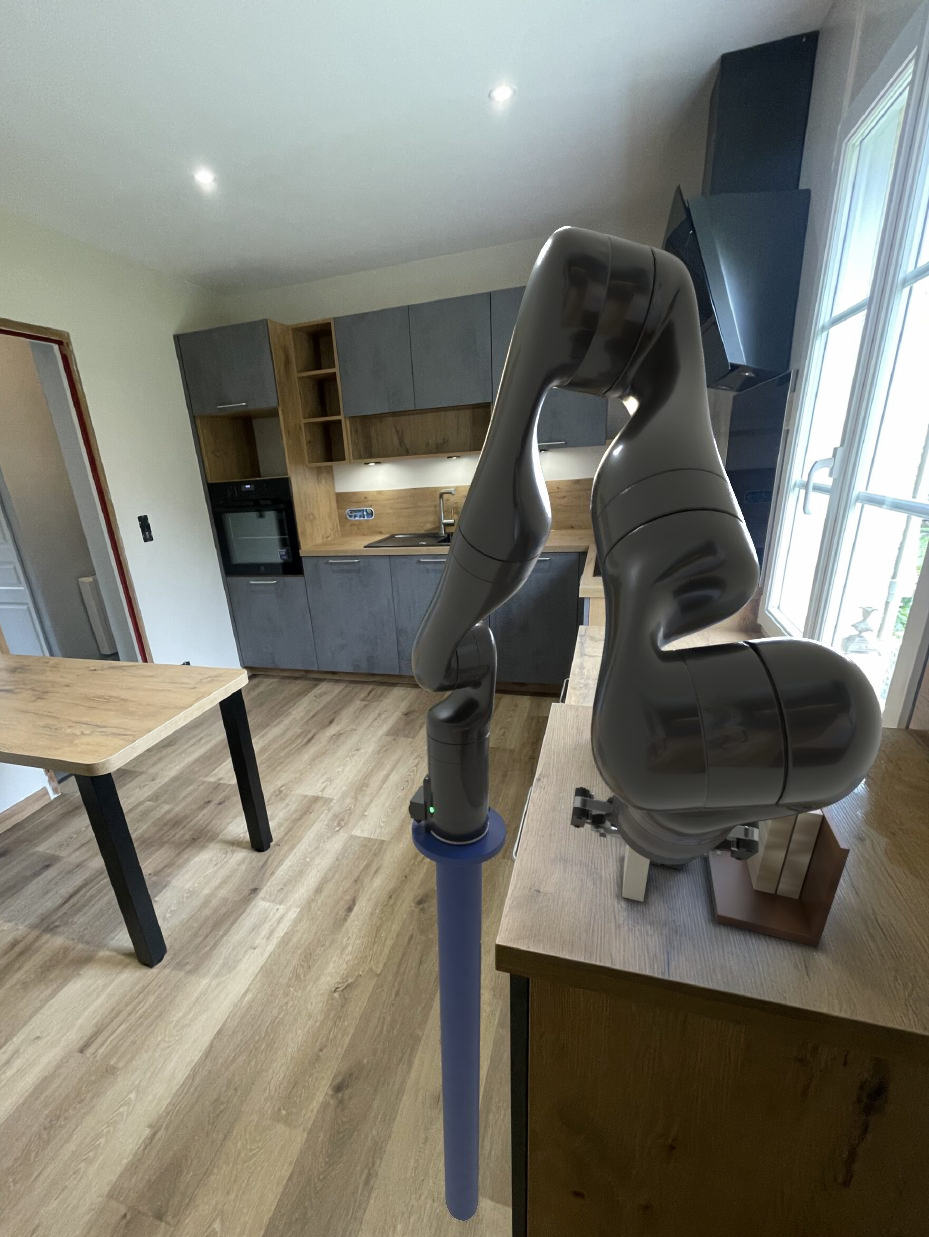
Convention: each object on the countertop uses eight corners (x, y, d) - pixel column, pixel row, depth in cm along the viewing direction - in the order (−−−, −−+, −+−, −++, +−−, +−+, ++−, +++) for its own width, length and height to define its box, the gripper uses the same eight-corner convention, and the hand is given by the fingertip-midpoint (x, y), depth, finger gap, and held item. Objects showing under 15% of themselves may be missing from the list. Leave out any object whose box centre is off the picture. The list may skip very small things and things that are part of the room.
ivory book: (622, 897, 65) (633, 816, 61) (624, 860, 71) (634, 784, 67) (643, 902, 64) (656, 820, 60) (643, 864, 71) (655, 787, 66)
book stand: (715, 922, 61) (736, 829, 56) (704, 850, 73) (721, 767, 68) (818, 947, 58) (850, 849, 53) (790, 867, 69) (814, 780, 64)
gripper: (789, 767, 36) (734, 811, 50) (573, 736, 41) (578, 784, 55) (790, 882, 33) (732, 895, 47) (559, 834, 38) (568, 858, 52)
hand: (649, 835), depth 51 cm, fingers open, 8 cm apart
